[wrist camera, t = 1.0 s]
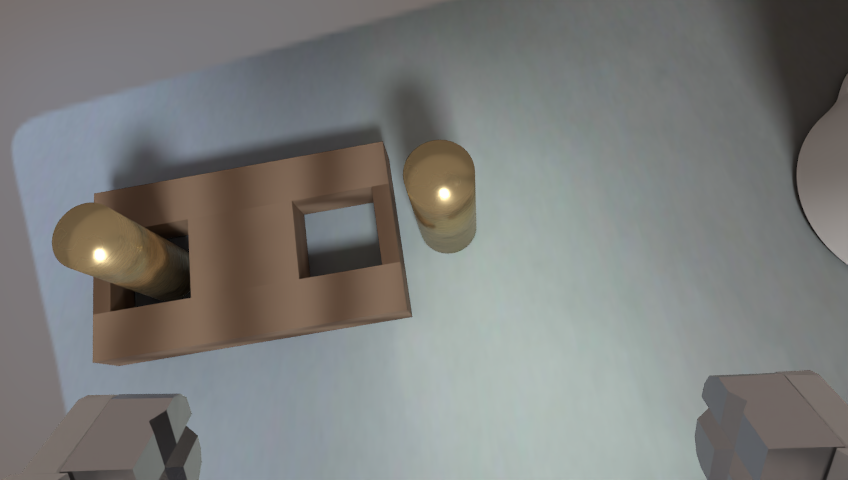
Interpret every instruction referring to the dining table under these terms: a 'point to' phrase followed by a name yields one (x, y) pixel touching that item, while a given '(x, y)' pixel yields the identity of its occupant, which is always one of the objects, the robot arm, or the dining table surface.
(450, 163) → the loose billet
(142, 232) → the seated billet
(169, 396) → the robot arm
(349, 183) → the wooden socket block
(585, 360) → the dining table surface
